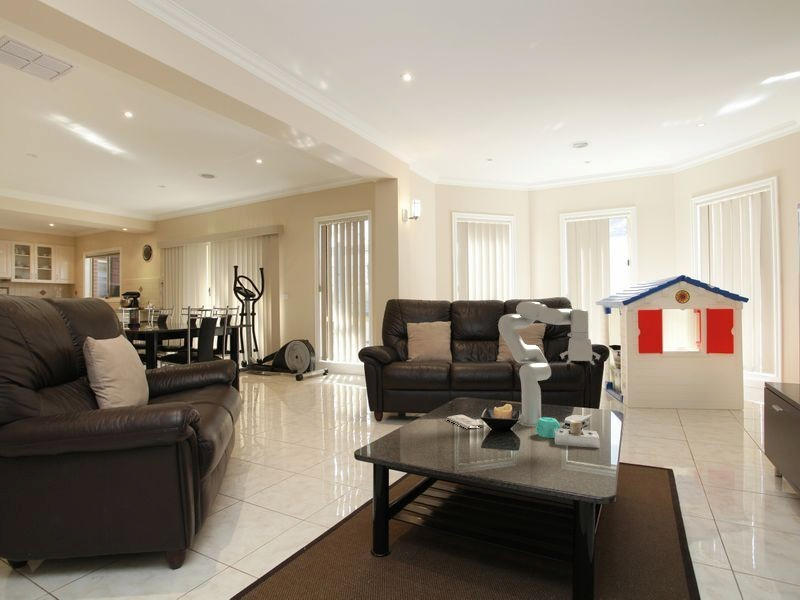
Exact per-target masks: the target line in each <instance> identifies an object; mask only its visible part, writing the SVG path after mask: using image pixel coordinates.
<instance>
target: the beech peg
mask: <svg viewBox="0 0 800 600" xmlns="http://www.w3.org/2000/svg"><path fill="white" fill-rule="evenodd" d="M569 429H570V434H575V435H581V430H582V428H581V421H578V420H570V428H569Z"/></svg>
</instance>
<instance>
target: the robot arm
mask: <svg viewBox="0 0 800 600" xmlns="http://www.w3.org/2000/svg"><path fill="white" fill-rule="evenodd" d="M515 311H516V313H508V314H504V315H502V316H501V317H500V318H499V320H498V325H497V326H498V332H499V334H500V336H501V337H502V339H503V340H504V342H505V344H506V346H507V347H508V350H509V351H510V353H511V355H512V357H513V359H514V360H515V362H517V363H518V364H523V365H521V367H520V368H519V371H518V372H519V378H520V379H519V380H520V385H521V414H519V415H520V420H518V424H519V425H521V426H524V427H529V428H536V423H537V421H538V420H539V419H540V418H542V395H541V394H542V391H541V390H542V389H541V387H540V384H539V383H538V381H546V380H548V379H550V377H551V375H552V369H551V366H550V364H549V363H548V360H547V358H546V357H545V355H544V354H543V352H542V350H541V348H539V346H537V345H535V344H526V343H525V341H524V340H523V338H522V336H521V334H519V333H518V332H516V331H515V330H525V329H527V328H529V327H530V326H531V325H533V323H534V322H536V321H539V322H541V323H544V324H549V325H550V324H551V325H557V326H560V325H562V326H563V325H570V332H568V333H567V337H570V338H569V340H568V347H567V350H566V351H564V352H561V353H560V354H559V356H560V357H561V360H562V361H563V362H564V363H565V364H566V372H567V373H568V374H571V362H572V361H574V362H575V361H576V362H579V361H580V362H583V361H584V362H589V363H590V364H589V373H590V374H594V373H593V372H595V365H596V364H597V363H598V362H599V360H600V358H601V355H600V354H598V353H597V352H594V351H593V347H592V341H591V338H589V311H588V310H587V309H584V308H583V309H582V308H576V309H573V308H553V307H552V308H551V307H548V306H547V305H546V304H543V303H540V302H538V301H521V302H519V303H518V304H517V305H516V309H515ZM566 355H567V356H568V357H567V359H566V358H565V356H566ZM593 356H595V359H594V360H593Z"/></svg>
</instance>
